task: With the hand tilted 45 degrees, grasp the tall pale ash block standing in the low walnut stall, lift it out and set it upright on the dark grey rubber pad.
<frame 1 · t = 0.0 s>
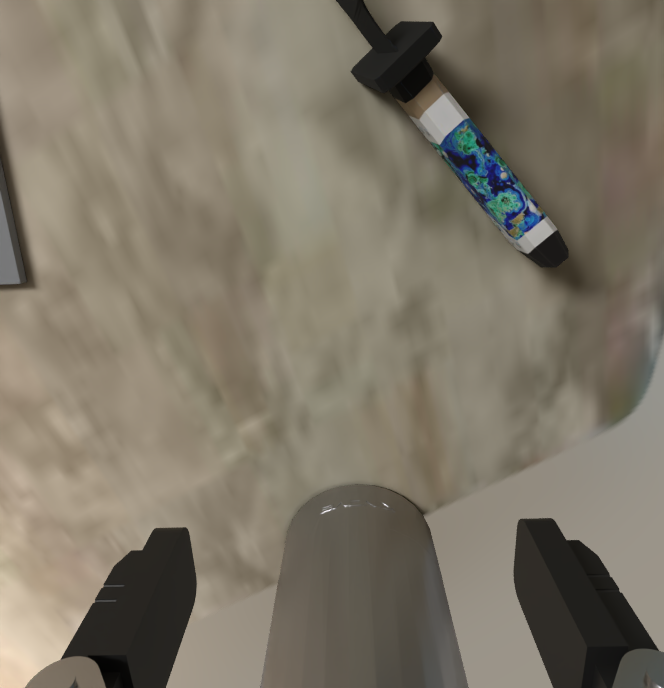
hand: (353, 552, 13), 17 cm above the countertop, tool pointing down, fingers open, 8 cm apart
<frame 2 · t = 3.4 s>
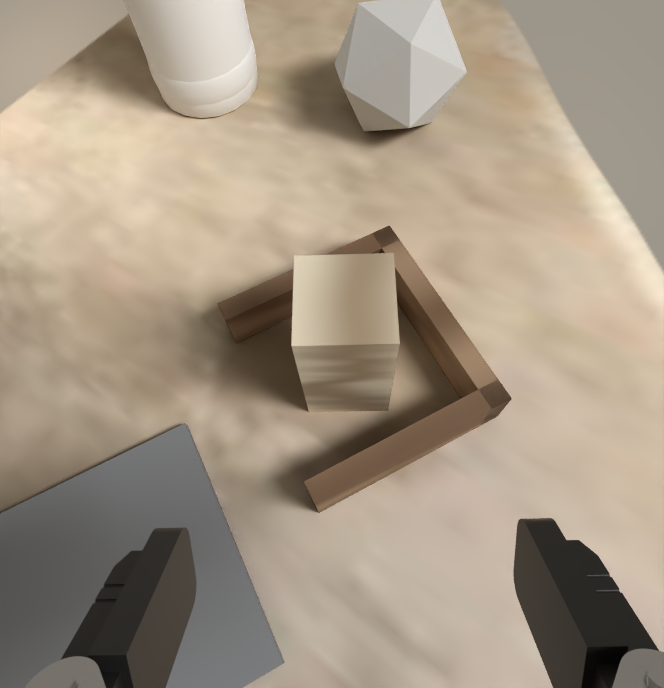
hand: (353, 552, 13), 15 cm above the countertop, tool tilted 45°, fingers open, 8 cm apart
pad: (112, 596, 26), on the countertop
ash block: (346, 341, 27), in the stall
bottle: (210, 86, 42), on the countertop
die: (393, 115, 40), on the countertop
stall: (347, 374, 31), on the countertop
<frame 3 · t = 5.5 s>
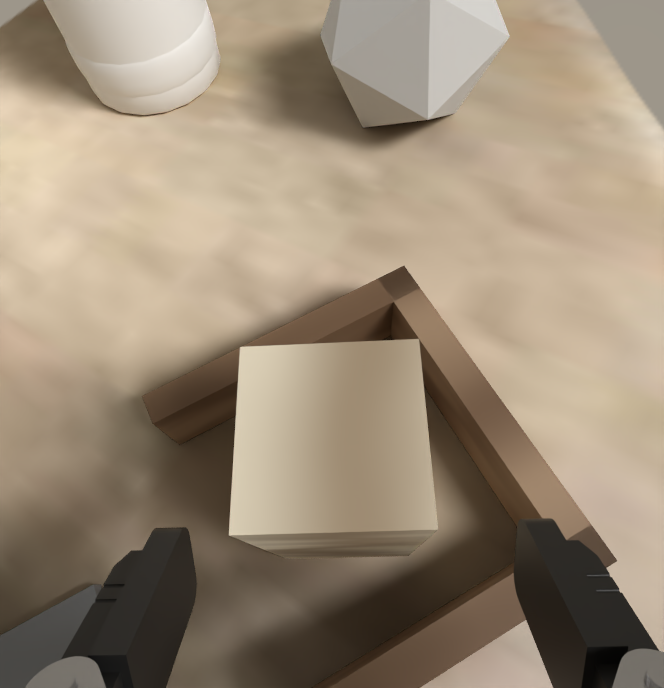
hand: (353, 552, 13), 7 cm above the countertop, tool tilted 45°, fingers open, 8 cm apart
ash block: (339, 470, 16), in the stall
bottle: (158, 73, 32), on the countertop
die: (403, 104, 29), on the countertop
stall: (345, 494, 20), on the countertop
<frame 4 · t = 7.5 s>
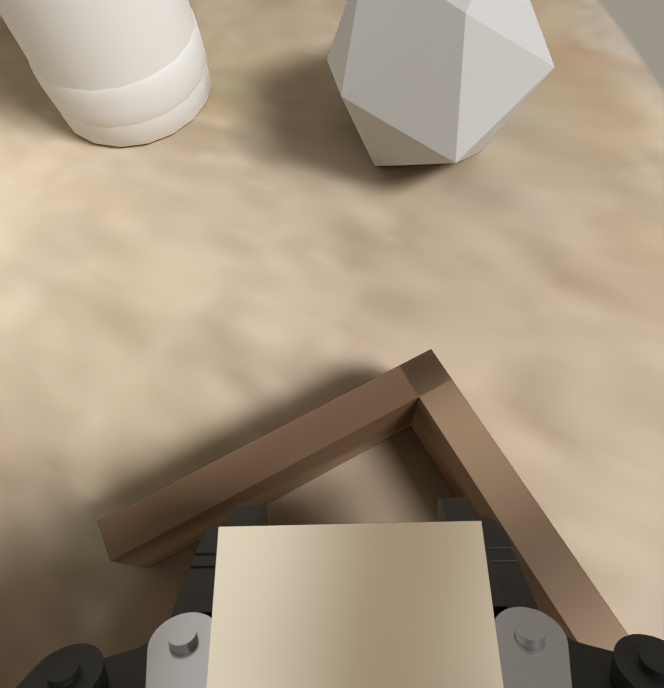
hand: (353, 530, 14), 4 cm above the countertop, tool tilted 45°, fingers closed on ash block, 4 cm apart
ash block: (355, 653, 12), in the stall, touching gripper
bottle: (139, 98, 28), on the countertop
die: (421, 139, 25), on the countertop
stall: (356, 641, 16), on the countertop
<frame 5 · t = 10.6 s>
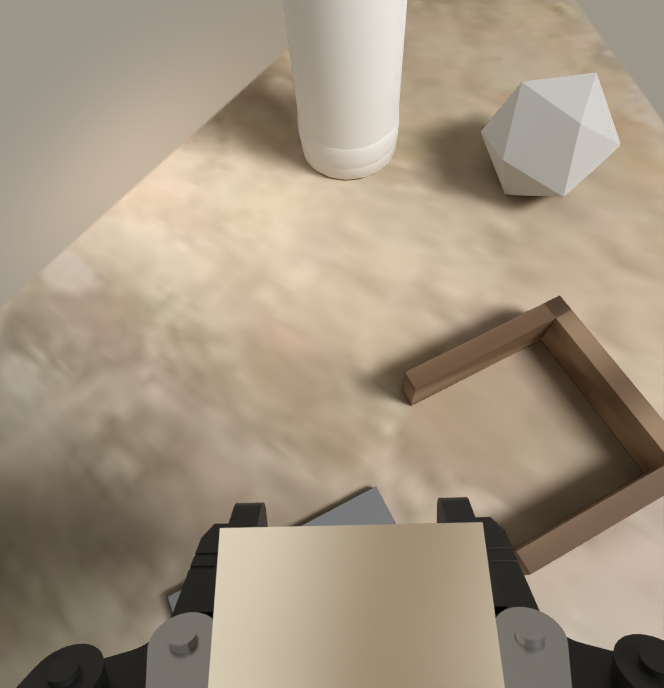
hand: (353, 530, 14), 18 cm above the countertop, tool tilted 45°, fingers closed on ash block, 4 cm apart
pad: (327, 657, 28), on the countertop
ash block: (356, 654, 12), point 18 cm above the countertop, touching gripper
bottle: (349, 147, 44), on the countertop
die: (531, 178, 42), on the countertop
stall: (523, 438, 32), on the countertop
when the fingers open (6 cm above the countertop, at t = 14.2 s): ash block drops 1 cm, resting on pad.
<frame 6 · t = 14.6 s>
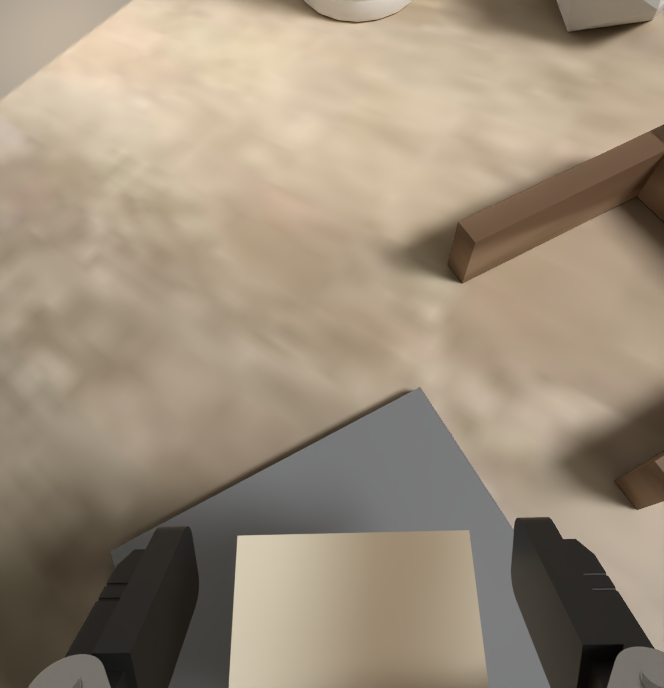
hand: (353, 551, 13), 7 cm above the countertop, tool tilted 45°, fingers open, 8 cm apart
pad: (356, 637, 18), on the countertop
ash block: (357, 648, 13), on the pad, point 5 cm above the countertop
die: (599, 14, 32), on the countertop
stall: (627, 320, 23), on the countertop
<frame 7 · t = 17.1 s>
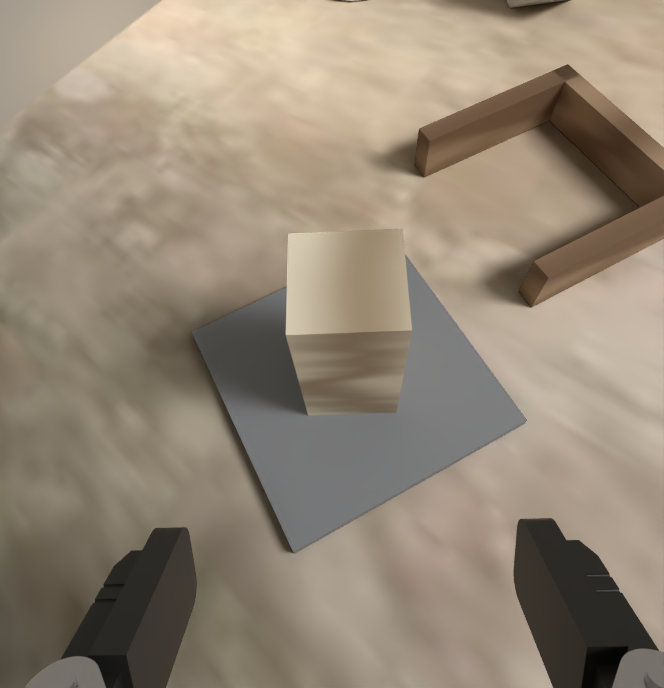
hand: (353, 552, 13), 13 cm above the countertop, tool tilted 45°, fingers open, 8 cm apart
pad: (349, 377, 28), on the countertop
ash block: (349, 334, 24), on the pad, point 5 cm above the countertop
stall: (535, 198, 33), on the countertop
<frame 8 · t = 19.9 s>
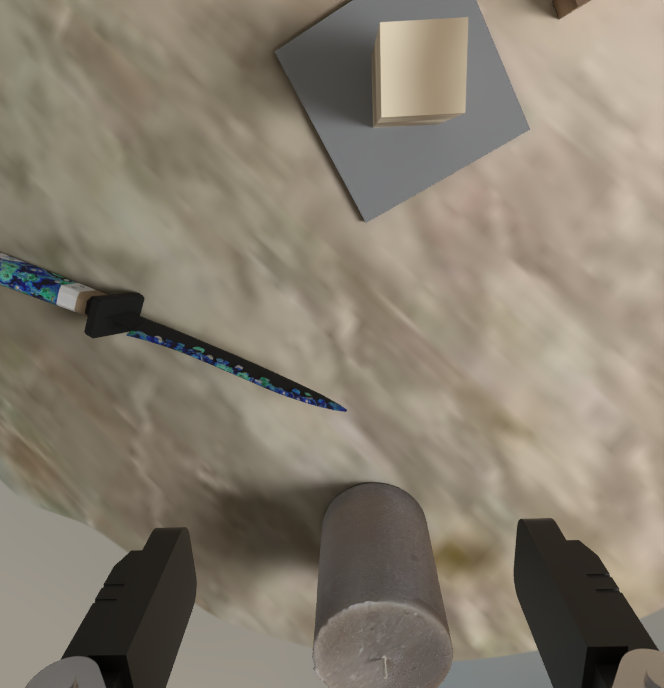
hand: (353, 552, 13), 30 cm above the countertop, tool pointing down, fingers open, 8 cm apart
pad: (403, 92, 37), on the countertop
knife: (172, 327, 42), point 1 cm above the countertop
ash block: (413, 81, 32), on the pad, point 5 cm above the countertop
pillar candle: (372, 524, 49), on the countertop
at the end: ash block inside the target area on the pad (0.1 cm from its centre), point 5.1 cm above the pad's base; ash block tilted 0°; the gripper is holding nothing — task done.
